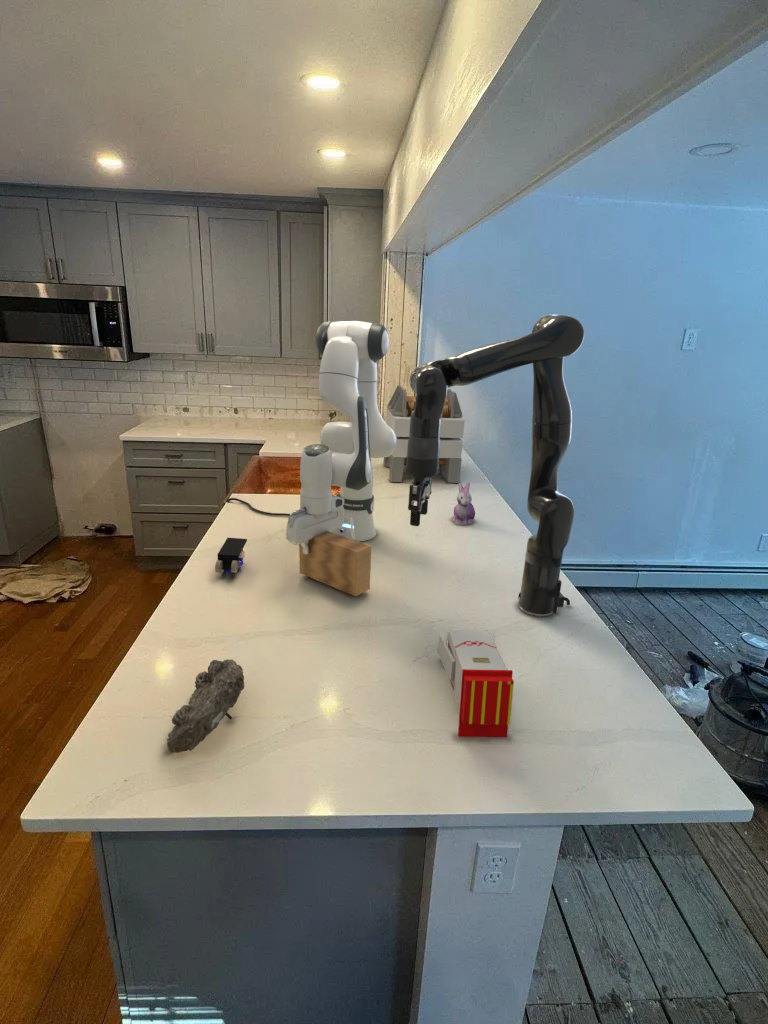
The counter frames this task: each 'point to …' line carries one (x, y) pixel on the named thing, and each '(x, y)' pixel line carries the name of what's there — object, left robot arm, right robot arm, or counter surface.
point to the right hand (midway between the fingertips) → (418, 519)
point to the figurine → (464, 506)
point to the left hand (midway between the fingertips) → (315, 549)
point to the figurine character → (230, 556)
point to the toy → (478, 682)
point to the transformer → (449, 435)
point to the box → (337, 562)
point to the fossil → (206, 705)
